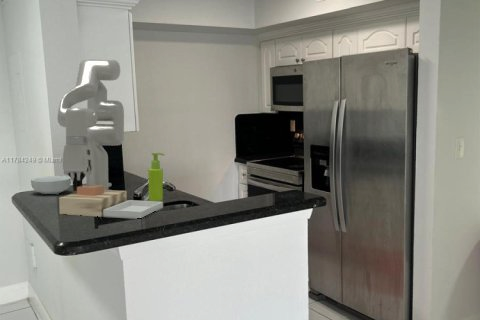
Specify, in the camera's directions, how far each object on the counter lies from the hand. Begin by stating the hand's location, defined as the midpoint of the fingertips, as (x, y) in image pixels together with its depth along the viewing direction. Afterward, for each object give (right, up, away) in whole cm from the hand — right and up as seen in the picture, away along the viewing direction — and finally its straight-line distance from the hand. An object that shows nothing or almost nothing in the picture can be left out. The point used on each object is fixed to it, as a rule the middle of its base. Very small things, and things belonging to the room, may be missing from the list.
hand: (77, 190), depth 168 cm
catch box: (+22, -8, -4) cm, 24 cm away
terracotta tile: (+5, -1, -1) cm, 5 cm away
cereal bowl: (-25, -4, +35) cm, 43 cm away
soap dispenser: (+26, -6, +22) cm, 34 cm away
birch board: (+7, -7, -1) cm, 10 cm away
